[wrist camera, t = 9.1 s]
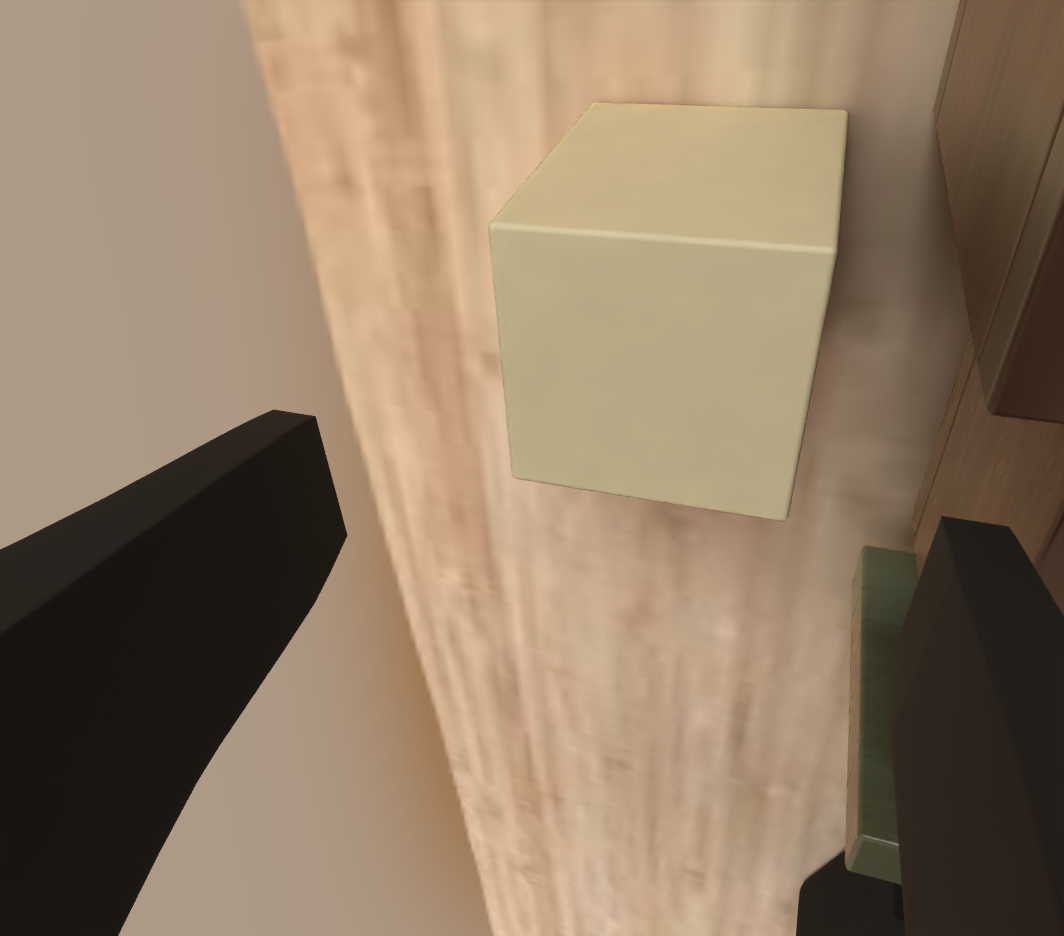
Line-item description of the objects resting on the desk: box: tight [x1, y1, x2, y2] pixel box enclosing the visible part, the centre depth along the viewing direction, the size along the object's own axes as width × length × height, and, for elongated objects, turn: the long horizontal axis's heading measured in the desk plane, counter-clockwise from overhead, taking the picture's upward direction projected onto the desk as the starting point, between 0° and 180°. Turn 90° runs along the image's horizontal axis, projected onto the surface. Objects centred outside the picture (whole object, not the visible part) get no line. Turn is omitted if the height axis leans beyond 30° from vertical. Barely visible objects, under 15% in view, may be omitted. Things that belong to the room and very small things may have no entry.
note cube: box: [488, 103, 849, 522], centre depth 14 cm, size 4×4×6 cm
